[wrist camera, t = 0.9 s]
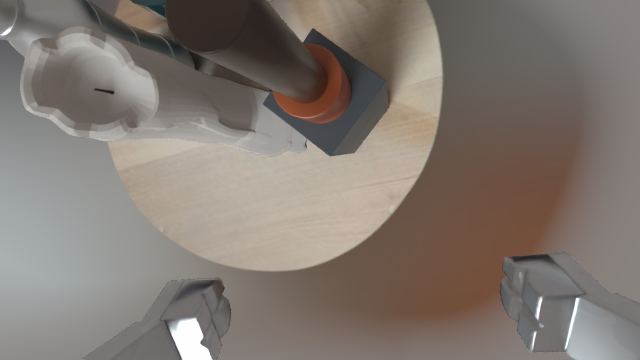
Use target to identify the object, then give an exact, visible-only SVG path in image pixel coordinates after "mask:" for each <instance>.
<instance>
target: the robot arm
mask: <svg viewBox="0 0 640 360" xmlns="http://www.w3.org/2000/svg"><path fill="white" fill-rule="evenodd" d="M502 270H503V271H504V273H505V274H506V277H505V278H504V279H503V280H502V281H501V283H500V295H501V300H502V304H503V306H504V309H505V311H506V312H507V314H508V316H509V317H510V318H512V319H513V320H515V321H517V322H518V327H517V331H518V333H519V335H520V336H521V338H522V339H523V341H524V343H525V344H526V346H527V348H528V349H529V351H530V352H564V351H565V352H567V354H568V355H570V356H571V357H572V358H573V359H575V360H640V303H638V302H636V301H634V300H631V299H629V298H627V297H625V296H622V295H620V294H618V293H612V294H611V293H609V292H608V291H607V290H606V289H605V288H604V287H603V286H602V285H601V284H600V283H599V282H598V281H597V280H596V279H595V278H594V277H593V276H592V275H590V274H589V273H588V272H587V271H586V270H585V269H584V268H583V267H582V266H581V265H580V264H579V263H578V262H577V261H576V260H575V259H574V258H573V257H572V256H571V255H570V254H568V253H566V252H554V253H544V254H540V255H539V254H538V255H525V256H512V257H505V258H504V260H503V265H502ZM223 291H224V285H223V282H222V280H221V279H219V278H202V279H187V280H172V281H170V282H168V283H167V284H166V286H165V287H164V288H163V290H162V291H161V293H160V294H159V296H158V297H157V299H156V300H155V301H154V303H153V304H152V306H151V308H150V309H149V310H148V312H147V313H146V315H145V316H144V318H143V319H142V321H141V322H135V323H134V324H132V325H131V326H129V327H128V328H126V329H125V330H123V331H122V332H121V333H119V334H118V335H116V336H114V337H113V338H112V339H110V340H109V341H107V342H106V343H104V344H103V345H101V346H100V347H98V348H97V349H95V350H94V351H92V352H91V353H89V354H88V355H87V356H85V357H84V358H82V359H81V360H217V358H218V355H219V353H220V350H221V347H222V344H221V341H220V338H221V337H222V336H224V335H225V334H226V333H227V331H228V328H229V325H230V319H231V309H230V304H229V301H228V299H227V298H226V297H224V296H223V295H222V293H223Z"/></svg>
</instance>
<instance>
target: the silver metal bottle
mask: <svg viewBox="0 0 640 360" xmlns="http://www.w3.org/2000/svg"><path fill="white" fill-rule="evenodd" d="M76 26H84V27H93V28H95V29H97V30H99V31H102V32H104V33H107V34H110V35H112V36H115V37H117V38H119V39H122V40H124V41H127V42H129V43H132V44H135V45H137V46H140V47H143V48H146V49H148V50H151V51H154V52H157V53H160V54H162V55H165V56H167V57H170V58H172V59H174V60H176V61H178V62H180V63H182V64H184V65H187V66H189V67H191V68H193V69H195V67H194V62H193V59H192V57H191V55H190V53H189V52H188V51H187V49H186V48H185V47H183V46H182V45H181V44H180V43H178V42H177V41H176V40H174V39H172V38H170V37H167V36H164V35H160V34H155V33H150V32H147V31H144V30H142V29H139V28H136V27H133V26H131V25H129V24H127V23H125V22H123V21H121V20H120V19H118V18H116V17H114V16H112V15H110V14H108V13H107V12H105V11H104V10H102V9H101V8H99V7H98V6H96V5H95V4H93V3H92V2H90V1H89V0H0V40H8V41H9V42H10V44H11V45H12V46H13V47H14V48H15V49H16V50H17V51H18V52H19V53H21V54H22V55H23V56H24V57H26V54H27V52H28V49H29V47H30V45H31V43H32V41H34V40H37V39H39V38H51V37H53V36H55V35H57V34H59V33H61V32H62V31H64V30H66V29H68V28H71V27H76Z"/></svg>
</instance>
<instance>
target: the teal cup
mask: <svg viewBox="0 0 640 360" xmlns="http://www.w3.org/2000/svg"><path fill="white" fill-rule="evenodd" d="M131 1H132V2H133V3H135V4H137V5H139V6H141V7H142V8H144V9H146V10H148V11H149V12H151V13H153V14H155V15H157V16H158V17H160V18H162V19H164V20H166V21H167V19H166V13H165V1H166V0H131Z"/></svg>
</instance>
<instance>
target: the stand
mask: <svg viewBox="0 0 640 360" xmlns="http://www.w3.org/2000/svg"><path fill="white" fill-rule="evenodd" d="M303 44H316V45H320V46H322V47H324V48H326V49H327V50H329V51H330V52H331V53H332V54H333V55H334V56H335V57H336V59H337V60H338V62H339V63H340V65H341V67H342V68H343V70H344V71H345V73H346V74H347V76H348V78H349V80H350V83H351V99H350V103H349V105H348V107H347V109H346V110H345V112H344V113H343V114H342V115H341V116H340V117H338V118H337V119H335V120H334V121H331V122H328V123H322V124H321V123H313V122H310V121H307V120H304V119H301V118H297V117H294V116H292V115H290V114H288V113H287V112H285V111H284V110H283V109H282V108H281V107H280V106H279V104H278V103H277V101H276V99H275V97H274V94H273V90H271V92H270V93H269V95H268V96H267V98H266V99H265V101H264V102H263V105H264V106H265V107H267V108H268V109H269V110H270V111H272V112H273V113H274V114H276V115H277V116H278V117H280V118H281V119H282V120H283V121H285V122H286V123H287V124H289V125H290V126H291V127H292V128H294V129H295V130H296V131H298V132H299V133H300V134H302V135H303V136H304V137H305V138H307V139H308V140H309V141H311V142H312V143H313V144H315V145H316V146H317V147H318V148H320V149H321V150H322V151H324V152H325V153H326V154H327V155H329V156H336V155H343V154H351V153H355V152H356V150H357V149H358V148H359V146H360V145H361V144H362V142H363V141H364V140H365V138H366V137H367V136H368V134H369V133H370V132H371V130H372V129H373V128H374V126H375V125H376V124H377V123H378V121H379V120H380V119H381V117H382V116H383V115H384V113H385V112H386V111H387V109H388V108H389V103H388V94H387V86H386V80H384V79H383V78H381V77H380V76H379V75H377V74H376V73H374V72H373V71H372V70H370V69H369V68H368V67H366V66H365V65H363V64H362V63H361V62H359V61H358V60H356V59H355V58H354V57H352V56H351V55H350V54H348V53H347V52H345V51H344V50H343V49H341V48H340V47H338V46H337V45H336V44H334V43H333V42H332V41H330V40H329V39H327V38H326V37H325V36H323V35H322V34H321V33H319V32H318V31H316V30H315V29H312V30H311V31H310V33H309V34H308V36H307V37H306V39H305V40H304V42H303Z"/></svg>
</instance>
